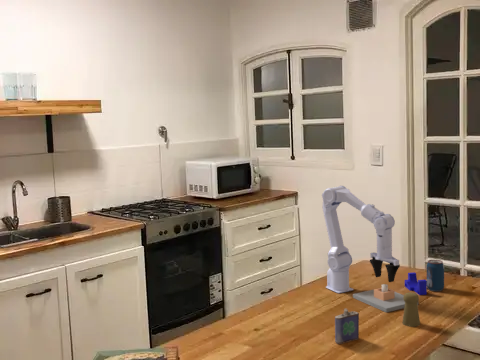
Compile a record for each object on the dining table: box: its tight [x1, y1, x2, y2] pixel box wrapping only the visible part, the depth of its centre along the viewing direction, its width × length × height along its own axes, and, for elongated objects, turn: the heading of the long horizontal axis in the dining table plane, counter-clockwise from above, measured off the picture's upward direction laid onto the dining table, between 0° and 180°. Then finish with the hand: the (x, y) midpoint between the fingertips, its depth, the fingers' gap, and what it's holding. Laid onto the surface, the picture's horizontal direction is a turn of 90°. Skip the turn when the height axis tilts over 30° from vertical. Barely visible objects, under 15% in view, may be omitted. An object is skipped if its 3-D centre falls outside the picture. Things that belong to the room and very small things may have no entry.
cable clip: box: [404, 272, 428, 296], centre depth 232 cm, size 12×4×6 cm, turn 5°
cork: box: [402, 291, 421, 328], centre depth 196 cm, size 6×6×11 cm
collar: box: [373, 287, 396, 301], centre depth 220 cm, size 6×6×3 cm
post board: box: [352, 283, 419, 313], centre depth 220 cm, size 20×16×6 cm
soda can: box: [426, 259, 445, 292], centre depth 231 cm, size 7×7×12 cm
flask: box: [334, 308, 360, 345], centre depth 184 cm, size 9×3×11 cm, turn 117°
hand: (384, 279), depth 219 cm, fingers open, 7 cm apart
